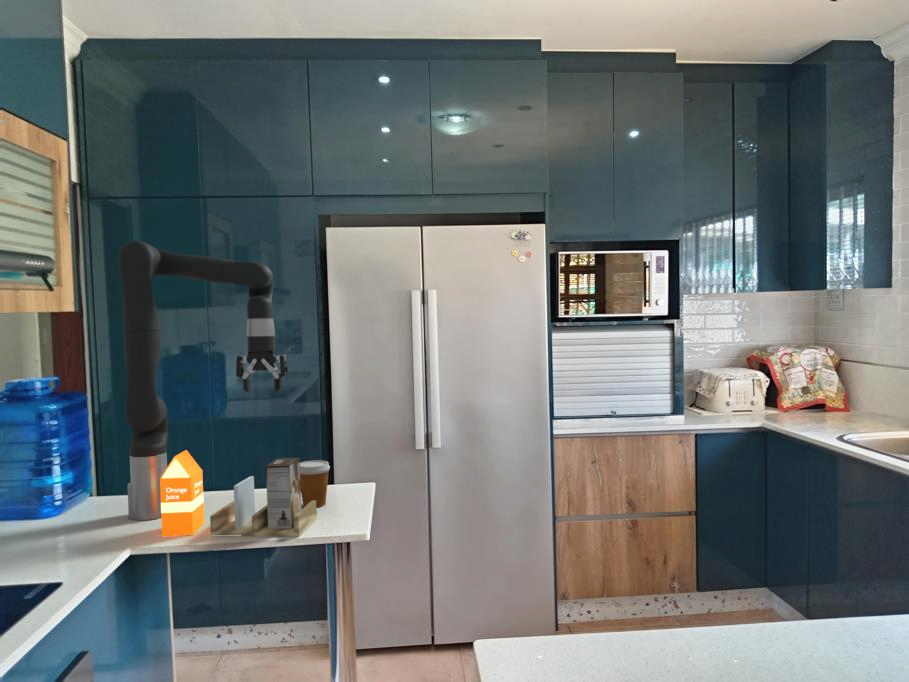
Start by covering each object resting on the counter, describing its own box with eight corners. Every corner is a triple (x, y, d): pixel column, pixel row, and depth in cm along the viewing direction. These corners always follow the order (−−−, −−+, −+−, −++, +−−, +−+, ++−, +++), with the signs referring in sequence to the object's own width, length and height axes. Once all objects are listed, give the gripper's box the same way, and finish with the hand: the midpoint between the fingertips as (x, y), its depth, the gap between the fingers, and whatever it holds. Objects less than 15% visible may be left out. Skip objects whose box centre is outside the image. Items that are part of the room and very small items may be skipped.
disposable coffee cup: (327, 509, 181) (326, 467, 180) (293, 510, 181) (292, 467, 180) (334, 500, 190) (333, 459, 190) (302, 500, 190) (300, 460, 190)
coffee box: (278, 518, 170) (276, 457, 170) (302, 517, 170) (300, 457, 170) (267, 529, 161) (265, 465, 161) (292, 529, 161) (290, 465, 160)
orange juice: (204, 524, 170) (202, 448, 169) (193, 535, 161) (190, 456, 160) (174, 525, 169) (171, 450, 169) (161, 536, 160) (158, 457, 160)
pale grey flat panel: (235, 529, 162) (233, 486, 161) (251, 517, 172) (250, 476, 171) (239, 529, 162) (237, 486, 161) (255, 517, 172) (253, 476, 171)
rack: (210, 535, 160) (210, 516, 160) (235, 518, 174) (234, 500, 174) (299, 536, 158) (298, 516, 158) (316, 519, 172) (316, 500, 172)
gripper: (230, 335, 179) (232, 393, 180) (280, 334, 178) (282, 393, 178) (242, 334, 186) (244, 390, 187) (290, 333, 185) (291, 390, 186)
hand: (262, 391), depth 183 cm, fingers open, 8 cm apart
